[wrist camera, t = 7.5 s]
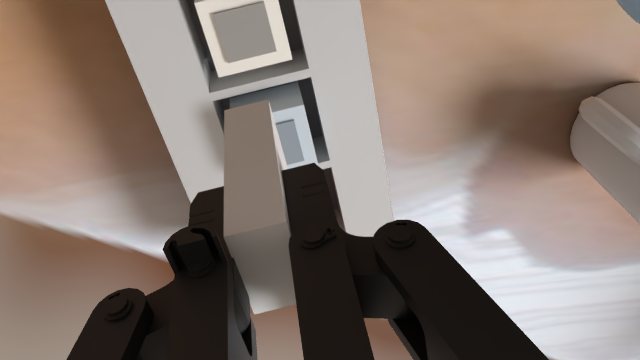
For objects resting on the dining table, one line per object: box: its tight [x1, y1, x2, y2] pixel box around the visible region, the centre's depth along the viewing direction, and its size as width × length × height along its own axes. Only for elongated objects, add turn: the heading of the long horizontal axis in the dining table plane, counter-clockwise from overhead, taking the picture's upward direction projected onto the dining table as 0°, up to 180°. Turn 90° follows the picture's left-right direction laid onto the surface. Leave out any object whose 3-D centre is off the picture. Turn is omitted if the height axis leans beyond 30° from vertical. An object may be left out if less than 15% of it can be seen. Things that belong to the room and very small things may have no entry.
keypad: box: [105, 0, 394, 237], centre depth 34 cm, size 20×12×5 cm, turn 12°
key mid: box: [230, 82, 319, 169], centre depth 31 cm, size 4×4×3 cm
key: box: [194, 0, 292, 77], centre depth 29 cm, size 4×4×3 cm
